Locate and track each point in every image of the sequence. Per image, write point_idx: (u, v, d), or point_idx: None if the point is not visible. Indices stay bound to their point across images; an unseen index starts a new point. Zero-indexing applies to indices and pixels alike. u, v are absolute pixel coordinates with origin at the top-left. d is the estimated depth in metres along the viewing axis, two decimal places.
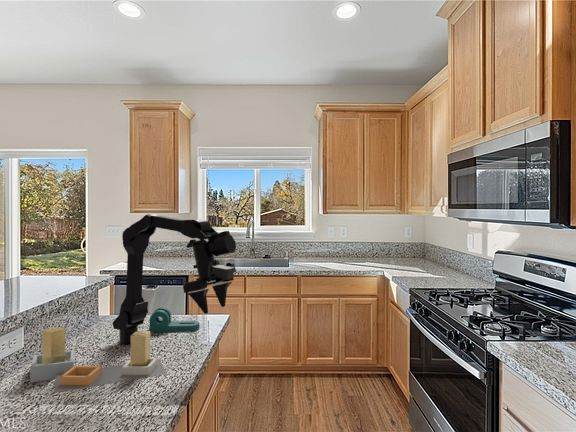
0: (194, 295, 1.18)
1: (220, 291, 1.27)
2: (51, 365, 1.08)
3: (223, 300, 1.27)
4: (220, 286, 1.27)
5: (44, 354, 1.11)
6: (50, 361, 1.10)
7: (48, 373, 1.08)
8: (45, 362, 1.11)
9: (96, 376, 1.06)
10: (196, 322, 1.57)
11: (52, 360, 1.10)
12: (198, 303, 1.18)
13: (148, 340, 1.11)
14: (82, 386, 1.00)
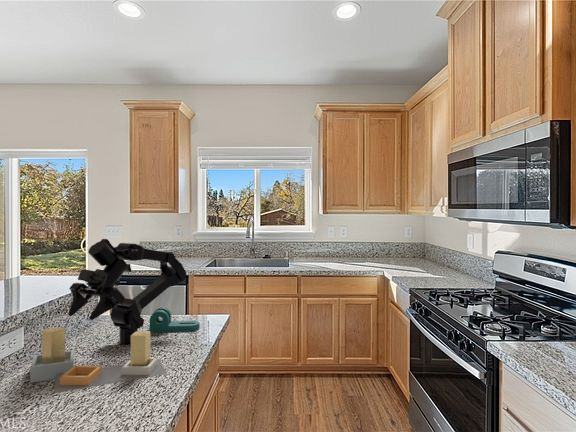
0: None
1: None
2: (51, 365, 1.08)
3: None
4: None
5: (44, 354, 1.11)
6: (50, 361, 1.10)
7: (48, 373, 1.08)
8: (45, 362, 1.11)
9: (96, 376, 1.06)
10: (196, 322, 1.57)
11: (52, 360, 1.10)
12: None
13: (148, 340, 1.11)
14: (82, 386, 1.00)
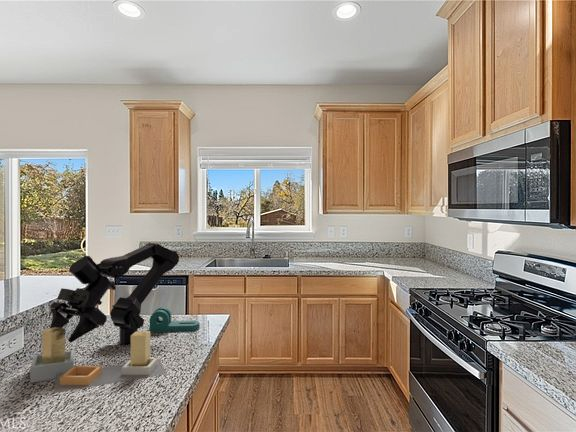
0: None
1: None
2: (51, 365, 1.08)
3: None
4: None
5: (44, 354, 1.11)
6: (50, 361, 1.10)
7: (48, 373, 1.08)
8: (45, 362, 1.11)
9: (96, 376, 1.06)
10: (196, 322, 1.57)
11: (52, 360, 1.10)
12: None
13: (148, 340, 1.11)
14: (82, 386, 1.00)
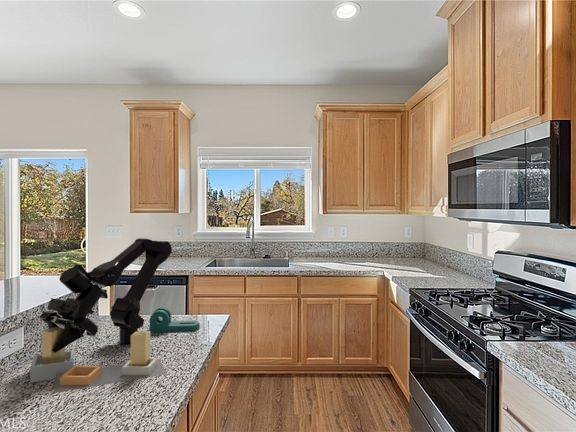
0: None
1: None
2: (51, 365, 1.08)
3: None
4: None
5: (44, 354, 1.11)
6: (50, 361, 1.10)
7: (48, 373, 1.08)
8: (45, 362, 1.11)
9: (96, 376, 1.06)
10: (196, 322, 1.57)
11: (52, 360, 1.10)
12: None
13: (148, 340, 1.11)
14: (82, 386, 1.00)
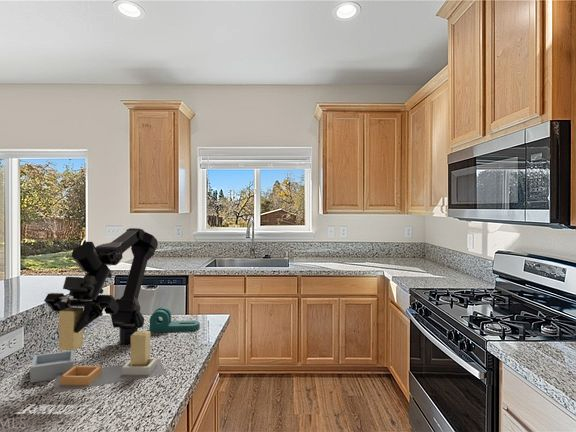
0: None
1: None
2: (51, 365, 1.08)
3: None
4: None
5: (63, 336, 1.04)
6: (72, 342, 1.04)
7: (48, 373, 1.08)
8: (64, 344, 1.04)
9: (96, 376, 1.06)
10: (196, 322, 1.57)
11: (74, 341, 1.04)
12: None
13: (148, 340, 1.11)
14: (82, 386, 1.00)
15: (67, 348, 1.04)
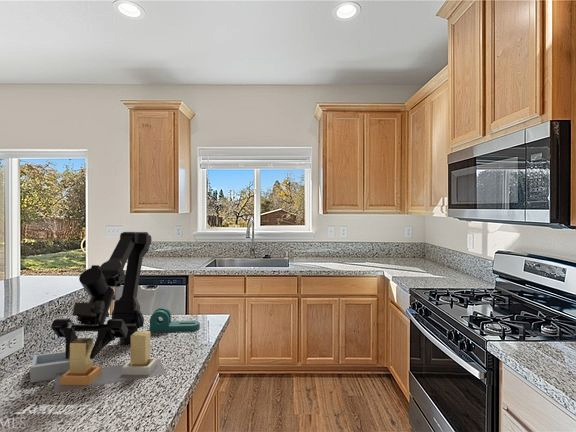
0: None
1: None
2: (51, 365, 1.08)
3: None
4: None
5: (74, 368, 1.03)
6: (84, 374, 1.03)
7: (48, 373, 1.08)
8: None
9: (96, 376, 1.06)
10: (196, 322, 1.57)
11: (86, 373, 1.03)
12: None
13: (148, 340, 1.11)
14: (82, 386, 1.00)
15: None
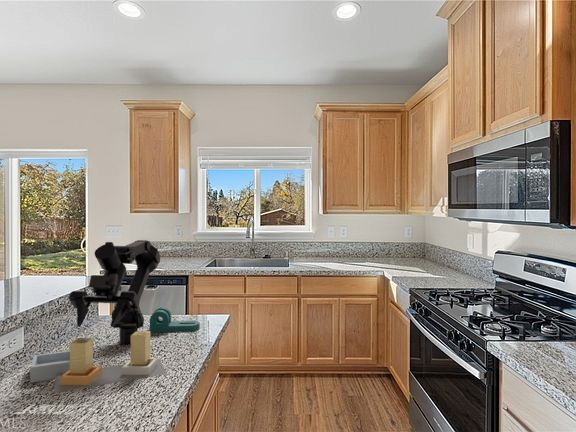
0: None
1: None
2: (51, 365, 1.08)
3: None
4: None
5: (74, 368, 1.03)
6: (84, 374, 1.03)
7: (48, 373, 1.08)
8: None
9: (96, 376, 1.06)
10: (196, 322, 1.57)
11: (86, 373, 1.03)
12: None
13: (148, 340, 1.11)
14: (82, 386, 1.00)
15: None
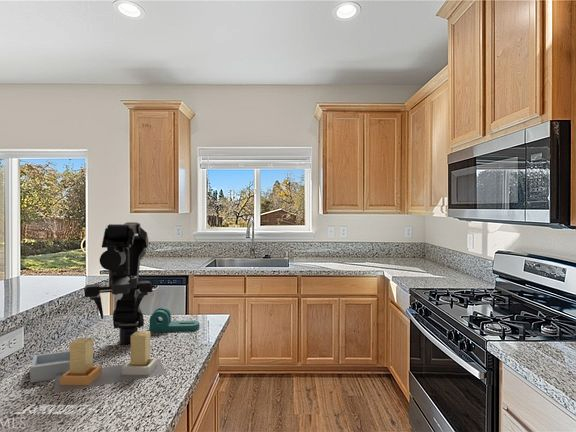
0: None
1: (135, 299, 1.25)
2: (51, 365, 1.08)
3: (135, 309, 1.24)
4: (136, 294, 1.25)
5: (74, 368, 1.03)
6: (84, 374, 1.03)
7: (48, 373, 1.08)
8: None
9: (96, 376, 1.06)
10: (196, 322, 1.57)
11: (86, 373, 1.03)
12: None
13: (148, 340, 1.11)
14: (82, 386, 1.00)
15: None
